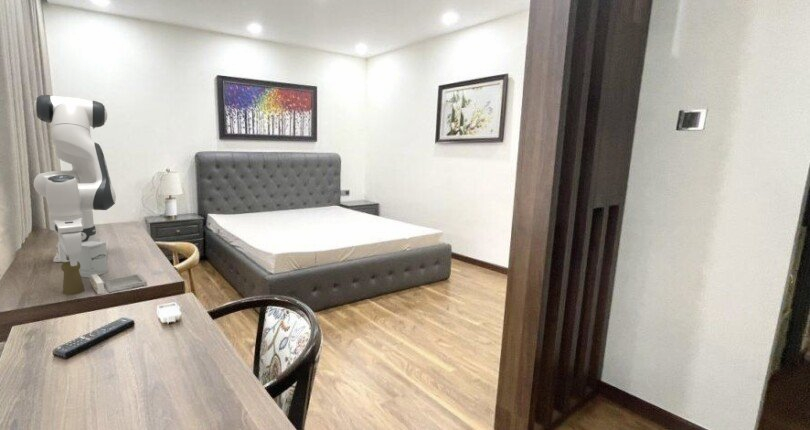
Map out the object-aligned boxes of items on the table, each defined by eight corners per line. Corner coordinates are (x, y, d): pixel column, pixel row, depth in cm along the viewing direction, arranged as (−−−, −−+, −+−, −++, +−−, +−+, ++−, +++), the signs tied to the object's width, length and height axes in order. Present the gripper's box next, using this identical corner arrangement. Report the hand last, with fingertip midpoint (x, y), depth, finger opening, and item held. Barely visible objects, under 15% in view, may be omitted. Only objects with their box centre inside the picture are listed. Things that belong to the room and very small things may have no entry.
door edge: (90, 285, 145) (88, 274, 145) (97, 283, 147) (96, 273, 146) (96, 294, 137) (95, 283, 136) (104, 293, 139) (103, 282, 138)
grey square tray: (102, 284, 147) (102, 279, 147) (139, 277, 155) (138, 273, 155) (109, 292, 139) (109, 288, 139) (147, 285, 147) (146, 281, 147)
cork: (58, 295, 135) (54, 264, 133) (68, 289, 141) (64, 259, 139) (79, 294, 137) (76, 263, 135) (88, 288, 143) (85, 258, 141)
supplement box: (91, 278, 153) (88, 246, 150) (76, 276, 154) (72, 244, 152) (109, 272, 160) (106, 242, 157) (94, 270, 161) (91, 240, 159)
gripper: (50, 220, 139) (55, 258, 142) (58, 229, 126) (63, 270, 128) (74, 218, 144) (78, 254, 146) (83, 226, 130) (88, 267, 132)
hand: (71, 262), depth 137 cm, fingers open, 8 cm apart
